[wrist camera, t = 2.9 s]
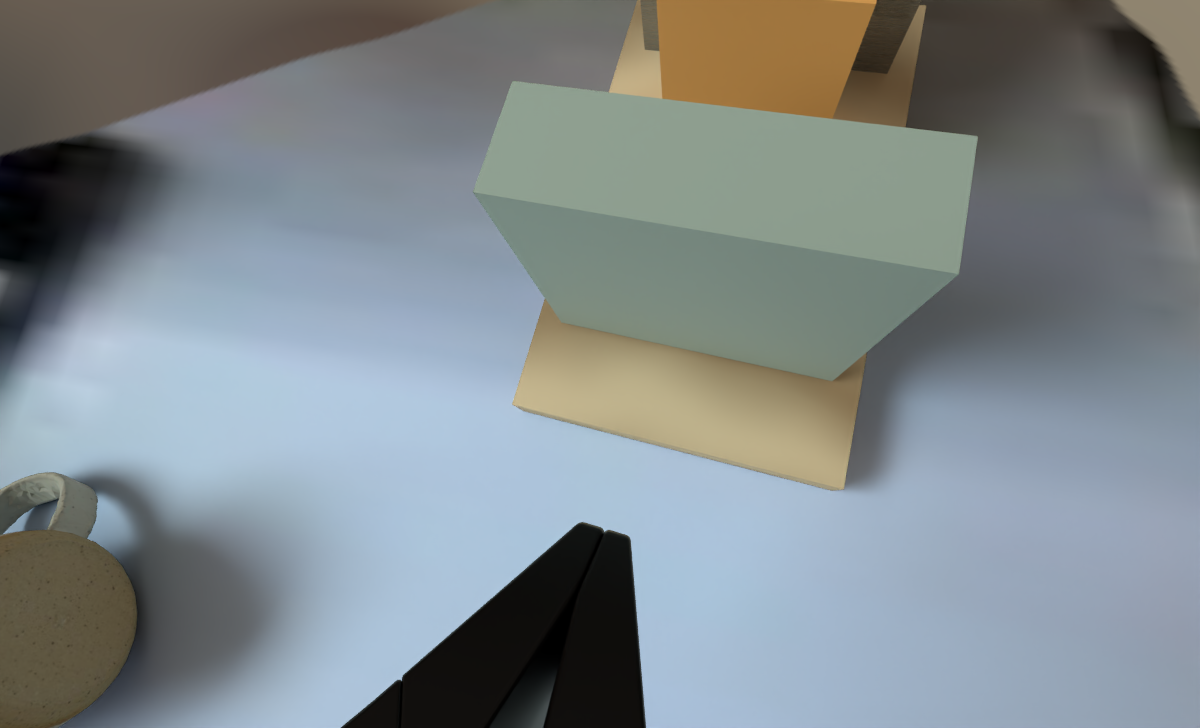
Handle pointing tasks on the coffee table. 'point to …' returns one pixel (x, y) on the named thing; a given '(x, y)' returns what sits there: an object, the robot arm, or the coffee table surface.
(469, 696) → the robot arm
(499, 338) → the coffee table surface
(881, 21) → the block
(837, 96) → the block
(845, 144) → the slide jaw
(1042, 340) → the coffee table surface
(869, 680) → the coffee table surface
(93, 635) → the ceramic mug
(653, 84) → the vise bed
